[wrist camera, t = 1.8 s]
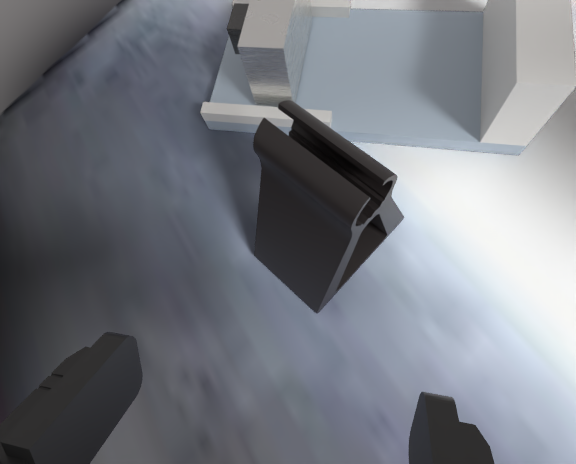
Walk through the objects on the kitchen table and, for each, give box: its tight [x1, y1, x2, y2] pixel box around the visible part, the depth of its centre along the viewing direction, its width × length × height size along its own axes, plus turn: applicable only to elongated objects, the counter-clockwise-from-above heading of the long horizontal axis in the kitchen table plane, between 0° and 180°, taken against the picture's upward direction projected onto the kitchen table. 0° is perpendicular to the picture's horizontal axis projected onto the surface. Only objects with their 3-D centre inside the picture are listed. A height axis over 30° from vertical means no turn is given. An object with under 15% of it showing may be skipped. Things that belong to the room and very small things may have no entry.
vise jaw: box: [227, 0, 312, 107], centre depth 29 cm, size 5×9×6 cm, turn 170°
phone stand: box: [253, 100, 404, 313], centre depth 22 cm, size 9×6×12 cm, turn 136°
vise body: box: [200, 0, 576, 155], centre depth 28 cm, size 24×12×7 cm, turn 80°
